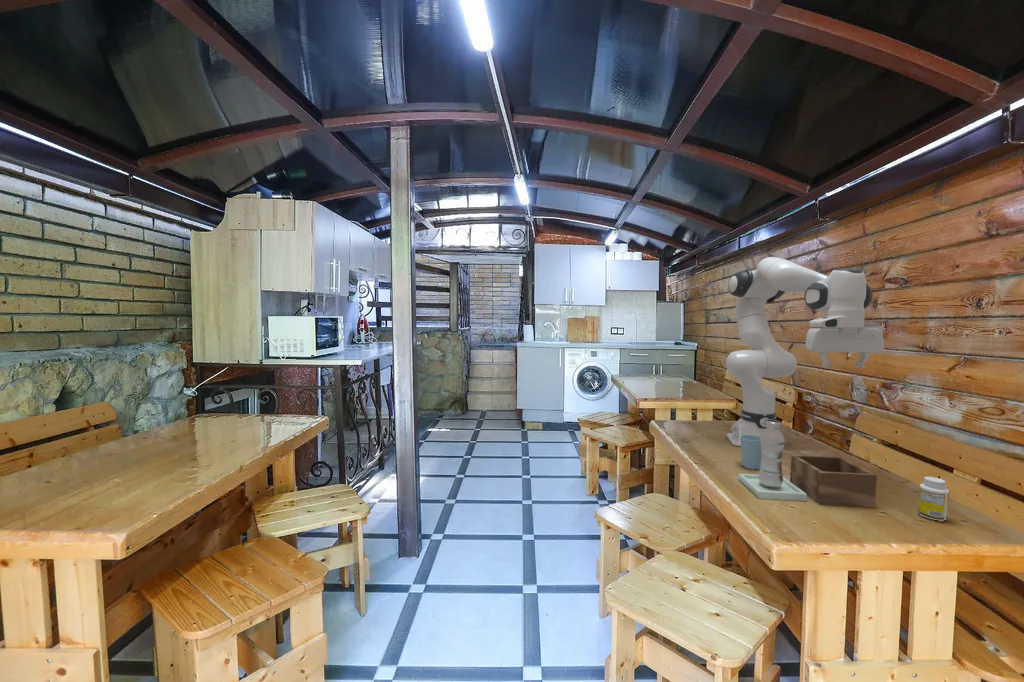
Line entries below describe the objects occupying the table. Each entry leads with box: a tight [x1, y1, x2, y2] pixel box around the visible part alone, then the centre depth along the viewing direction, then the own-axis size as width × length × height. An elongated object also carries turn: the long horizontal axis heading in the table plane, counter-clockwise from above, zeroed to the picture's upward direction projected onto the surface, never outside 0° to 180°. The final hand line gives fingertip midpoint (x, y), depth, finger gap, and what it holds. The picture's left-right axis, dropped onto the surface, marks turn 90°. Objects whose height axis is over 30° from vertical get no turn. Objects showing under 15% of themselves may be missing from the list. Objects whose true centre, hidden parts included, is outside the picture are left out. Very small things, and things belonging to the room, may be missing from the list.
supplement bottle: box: [917, 476, 950, 521], centre depth 111 cm, size 6×6×10 cm
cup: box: [740, 435, 762, 471], centre depth 147 cm, size 8×8×10 cm
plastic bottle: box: [757, 419, 786, 488], centre depth 128 cm, size 6×7×20 cm
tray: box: [737, 473, 808, 502], centre depth 128 cm, size 14×13×2 cm
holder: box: [789, 454, 878, 508], centre depth 125 cm, size 15×14×9 cm
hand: (842, 367), depth 129 cm, fingers open, 8 cm apart
